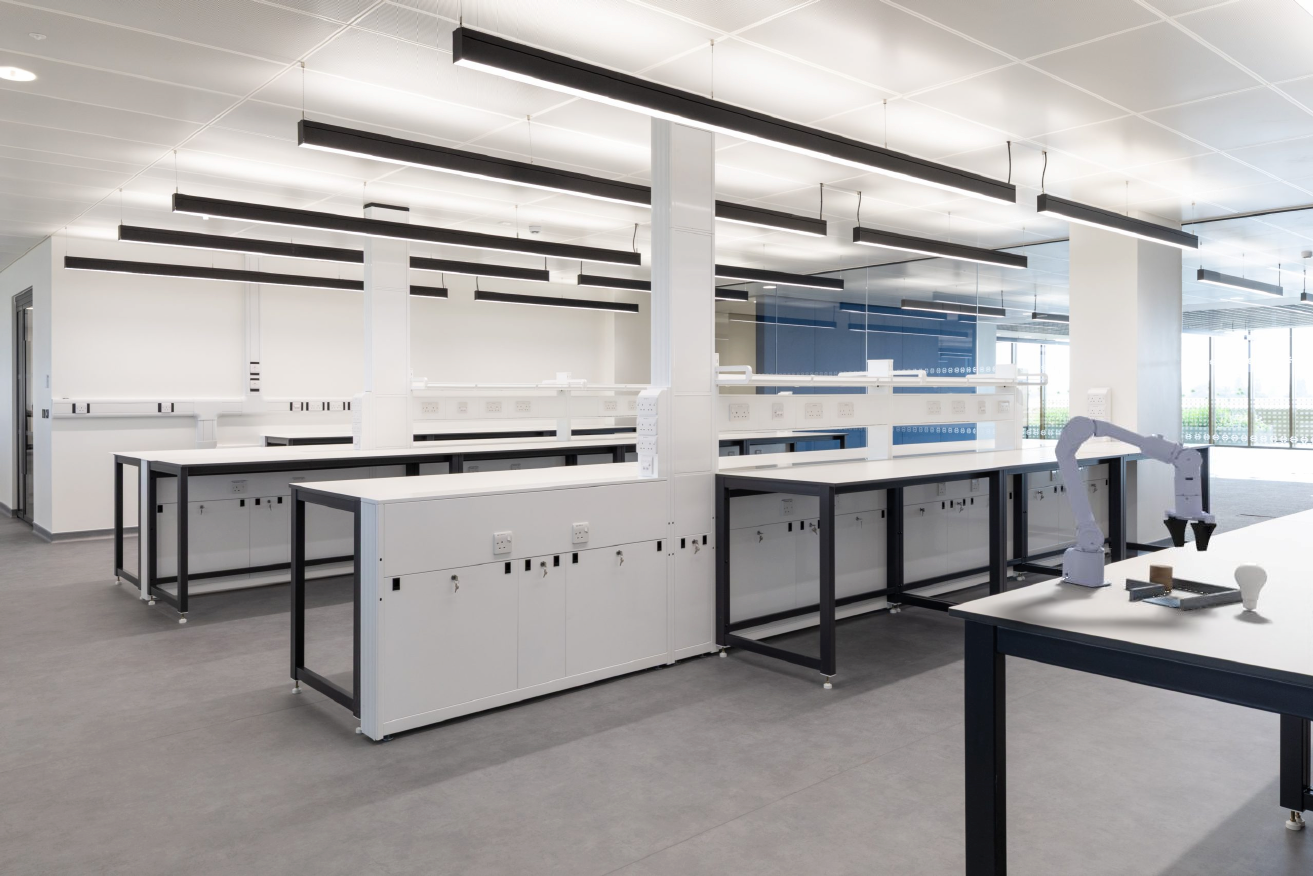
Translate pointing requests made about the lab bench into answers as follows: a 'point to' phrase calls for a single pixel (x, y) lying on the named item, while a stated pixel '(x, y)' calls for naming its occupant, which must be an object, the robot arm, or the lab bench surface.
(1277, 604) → the lab bench surface
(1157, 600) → the pad
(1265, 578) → the lightbulb
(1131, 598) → the guide walls
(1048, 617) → the lab bench surface
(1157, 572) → the walnut cylinder
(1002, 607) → the lab bench surface
